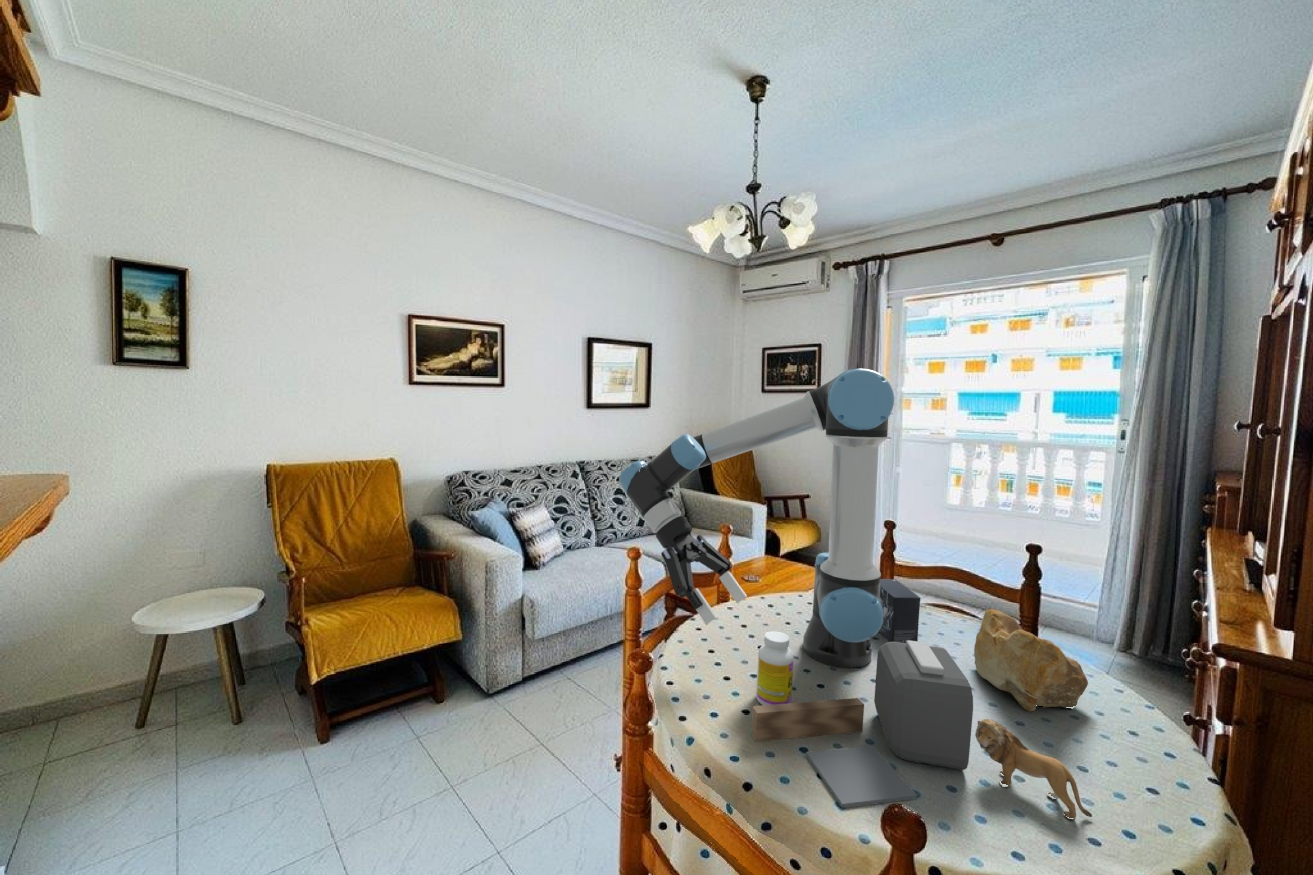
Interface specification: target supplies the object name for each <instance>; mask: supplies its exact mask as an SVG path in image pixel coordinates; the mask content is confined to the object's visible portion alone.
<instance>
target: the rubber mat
mask: <svg viewBox="0 0 1313 875" xmlns="http://www.w3.org/2000/svg"><path fill="white" fill-rule="evenodd" d="M805 756H806V758H807V760H809V762H810V763H811V766H812V767H813V768H814V769H815V771H816V773H818V775H819V776H820V778H821V780H822V781H823V783H824V784H825V785H826V787H827V789H828V790H829V791H830V793H831V794H832V795H833V797H834V798H835V800H836V801H837V803H838V805H839V806H840V807H841V808H842V809H843V808H852V807H853V808H854V807H861V806H870V805H877V804H887V803H893V802H901V801H902V800H903V801H910V800H917V798H918V797H917V796H918V795H917V793H916V792H915V791H914V790H913V788H911V787H910V786H909V785H908V783H907V782H906V781H905V780H904V779H903V778H902V776H900V774H899V773H898V772H897V771H896V770H895V769H894V768H893V766H892V765H891V764H889V762H888V761H887V760H886V759H885V757H883V756H882V754H881V753H880V752H879V751H878V750H877V749H876V748H875V746H874V745H866V746H857V747H855V746H854V747H844V748H835V749H826V750H825V749H824V750H814V751H813V750H812V751H806V752H805Z"/></svg>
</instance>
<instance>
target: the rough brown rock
mask: <svg viewBox="0 0 1313 875" xmlns="http://www.w3.org/2000/svg"><path fill="white" fill-rule="evenodd" d="M973 649H974V650H973V656H974V665H975V669H976V671H977V674H978V675H979V676H980V677H981V678H982V679H984V680H987V681H988V682H989V683H990V684H992V685H993V687H994V688H996V689H998V690H1001V691H1004V692H1007V693H1009V694H1011V695H1012V696H1013V698H1014V699H1015V700H1016V701H1017V703H1018V704H1019V706H1021V707H1022V708H1023V709H1024V710H1025V709H1026V710H1028V711H1027V712H1034V711H1036V710H1037V709H1036V708H1037V707H1038V706H1043V707H1042V708H1051V707H1054V708H1055V707H1062V708H1064V707H1065V708H1064V709H1066V707H1073V706H1076V705H1077V706H1078V701H1079V699H1080V697H1081V696H1082V695H1083V694H1084V692H1085V690H1086V689H1087V687H1088V686H1089V681H1088V678H1087V677H1086V674H1085V672H1084V671H1083V668H1082V665H1081V664H1080V663H1079V662H1078V660H1075V659H1072V658H1070V657H1068V656H1066V655H1065V654H1064V652H1063V651H1062V649H1061V647H1059V646H1058V645H1056V644H1054V642H1052V641H1051V640H1049V639H1046V638H1041V637H1038V636H1036V635H1035V634H1033V633H1031V632H1029V631H1026V630H1024V629H1023V628H1022V626H1021V625H1020V624H1019V623H1018V622H1017V621H1016V619H1015V618H1014V617H1012V616H1011V615H1008V614H1007V613H1004V612H1002V611H1001V610H997V609H994V608H988V609H985V612H984V614H983V617H982V620H981V624H980V629H979V631H978V632H977V633H976V637H975V644H974V648H973ZM1036 705H1037V706H1036ZM1077 706H1076V707H1077ZM1026 710H1025V711H1026ZM1033 710H1034V711H1033Z"/></svg>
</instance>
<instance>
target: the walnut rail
mask: <svg viewBox="0 0 1313 875" xmlns="http://www.w3.org/2000/svg"><path fill="white" fill-rule="evenodd" d="M864 712H865V703H863V701H862V700H861V699H859V698H858V697H854V698H853V697H851V698H841V699H828V700H815V701H804V702H802V701H800V702H791V703H788V704H775V705H762V704H761V705H753V706H752V712H751V726H750V727H751V730H750V735H751V736H752V739H754V742H763V741H774V740H784V739H785V740H786V739H797V738H807V737H808V738H810V737H819V736H828V735H831V736H832V735H840V734H841V735H842V734H851V733H862V732H863V728H864V727H863V726H864V716H865V715H864Z"/></svg>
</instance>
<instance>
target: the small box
mask: <svg viewBox="0 0 1313 875" xmlns="http://www.w3.org/2000/svg"><path fill="white" fill-rule="evenodd" d="M880 603H881V605H882V607H883V624H882V626H881V628H880V630H879V631H878V633H880V634H881V635H882V637H884V638H885V639H886V640H887V642H900V643H906V642H907V640H910V641H918V639H919V637H918V636H919V622H920V621H919V620H920V609H921V608H920V607H921V597H920V596H919V595H917V594H916V593H915V592H914V591H912V590H910V589H909V588H908V587H907V586H905V585H904V584H903V583H901V582H899V580H897V579H896V578H880ZM918 642H919V641H918Z"/></svg>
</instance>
